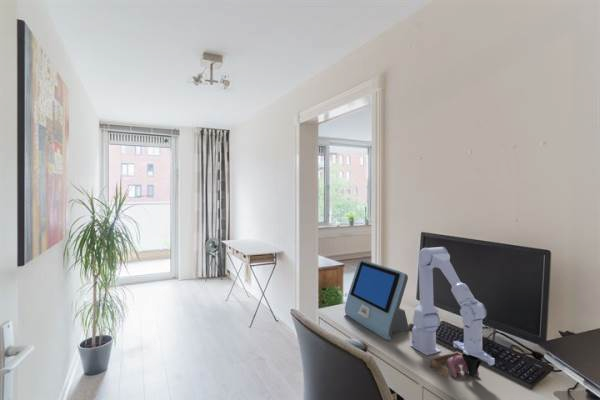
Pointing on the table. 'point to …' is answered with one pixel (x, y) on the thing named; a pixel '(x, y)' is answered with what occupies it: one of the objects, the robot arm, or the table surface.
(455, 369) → the video game controller
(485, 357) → the robot arm
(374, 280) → the touchscreen device
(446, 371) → the docking cradle
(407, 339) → the table surface
